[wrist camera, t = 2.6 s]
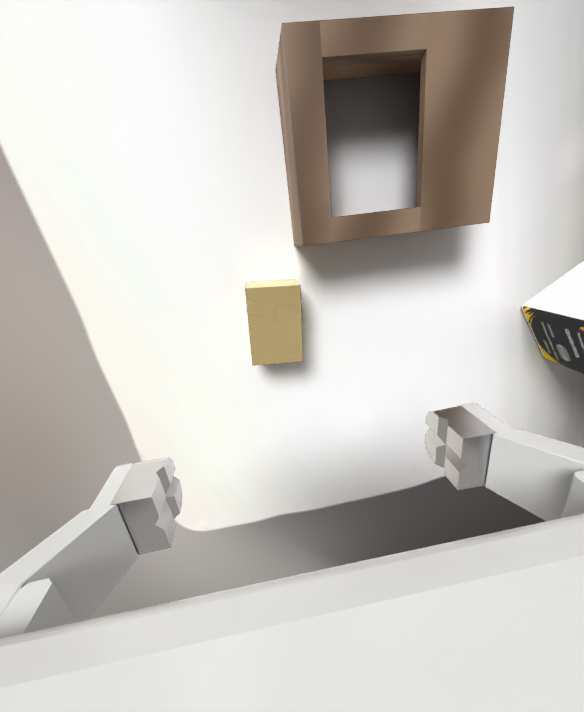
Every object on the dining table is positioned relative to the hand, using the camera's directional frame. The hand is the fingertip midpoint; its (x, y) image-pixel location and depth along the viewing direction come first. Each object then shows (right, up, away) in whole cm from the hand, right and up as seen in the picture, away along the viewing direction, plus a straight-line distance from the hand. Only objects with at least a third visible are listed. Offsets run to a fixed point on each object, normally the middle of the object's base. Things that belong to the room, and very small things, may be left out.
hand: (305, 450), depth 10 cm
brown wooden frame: (+6, +18, +13) cm, 23 cm away
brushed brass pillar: (-2, +6, +16) cm, 18 cm away
